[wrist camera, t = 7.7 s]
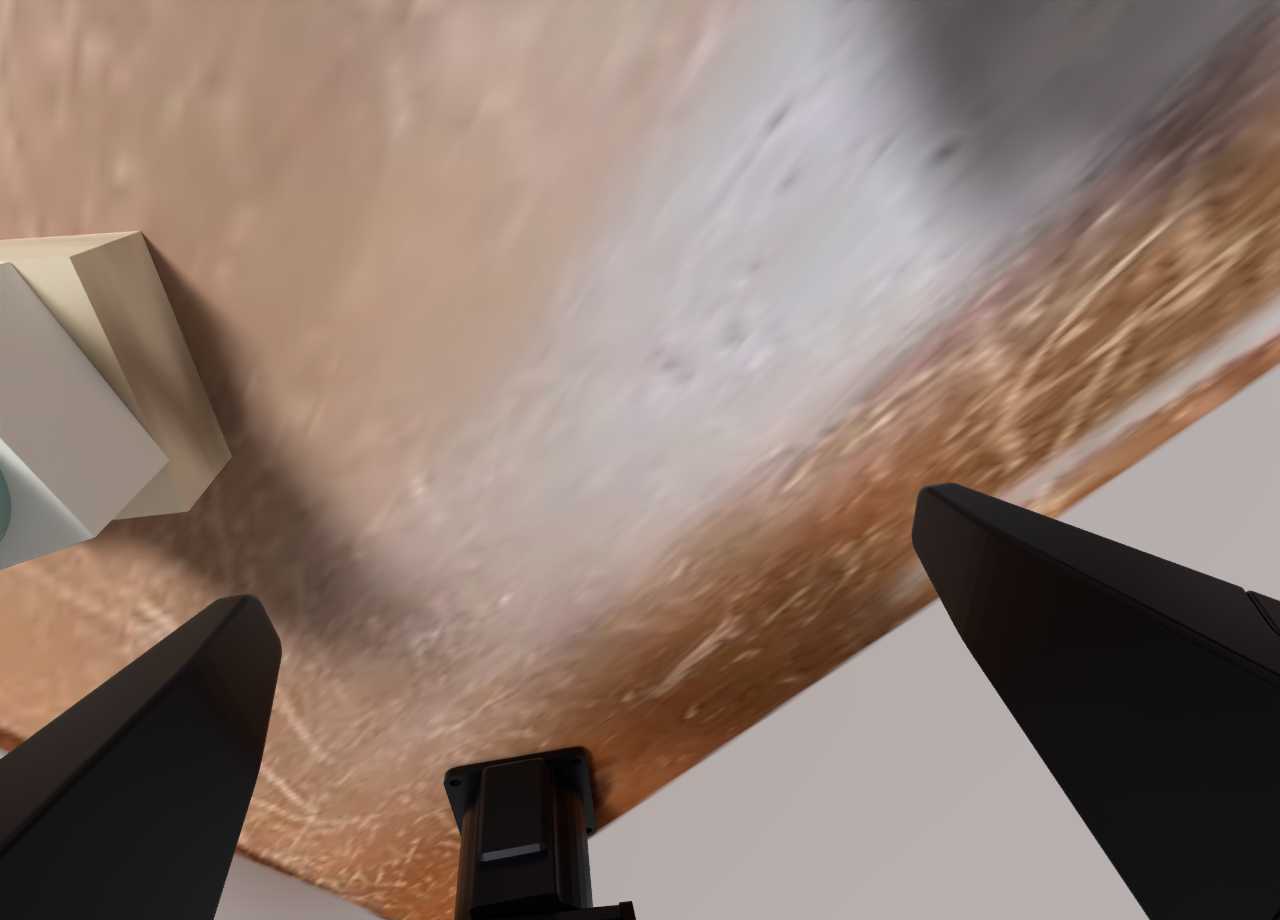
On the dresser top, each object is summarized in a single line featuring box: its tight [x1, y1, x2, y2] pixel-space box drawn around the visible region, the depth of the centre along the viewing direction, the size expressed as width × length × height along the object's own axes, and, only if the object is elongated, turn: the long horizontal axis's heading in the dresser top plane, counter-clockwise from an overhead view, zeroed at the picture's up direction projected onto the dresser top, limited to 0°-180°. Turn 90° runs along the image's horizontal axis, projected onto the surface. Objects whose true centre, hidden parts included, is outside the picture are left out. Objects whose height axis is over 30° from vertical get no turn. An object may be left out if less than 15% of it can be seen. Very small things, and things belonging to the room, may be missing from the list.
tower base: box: [0, 231, 232, 520], centre depth 18 cm, size 7×7×4 cm
